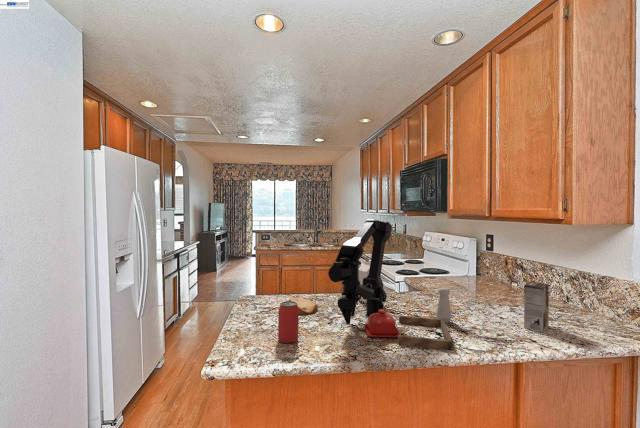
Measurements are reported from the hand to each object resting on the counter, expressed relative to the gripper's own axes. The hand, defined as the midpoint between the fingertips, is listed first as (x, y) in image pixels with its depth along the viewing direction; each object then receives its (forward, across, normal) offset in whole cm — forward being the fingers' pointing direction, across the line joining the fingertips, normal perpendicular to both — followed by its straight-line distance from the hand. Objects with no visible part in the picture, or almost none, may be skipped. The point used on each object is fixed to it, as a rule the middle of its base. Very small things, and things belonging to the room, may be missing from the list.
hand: (350, 320), depth 116 cm
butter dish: (+3, -3, -12) cm, 12 cm away
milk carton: (+3, +37, -2) cm, 37 cm away
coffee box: (+3, +20, -67) cm, 70 cm away
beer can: (+3, -18, +18) cm, 25 cm away
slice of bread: (+3, +17, +25) cm, 31 cm away
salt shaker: (+3, +17, -34) cm, 38 cm away
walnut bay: (+2, 0, -26) cm, 26 cm away
